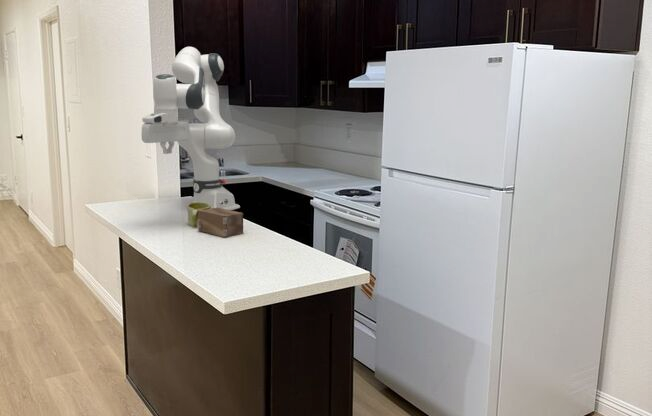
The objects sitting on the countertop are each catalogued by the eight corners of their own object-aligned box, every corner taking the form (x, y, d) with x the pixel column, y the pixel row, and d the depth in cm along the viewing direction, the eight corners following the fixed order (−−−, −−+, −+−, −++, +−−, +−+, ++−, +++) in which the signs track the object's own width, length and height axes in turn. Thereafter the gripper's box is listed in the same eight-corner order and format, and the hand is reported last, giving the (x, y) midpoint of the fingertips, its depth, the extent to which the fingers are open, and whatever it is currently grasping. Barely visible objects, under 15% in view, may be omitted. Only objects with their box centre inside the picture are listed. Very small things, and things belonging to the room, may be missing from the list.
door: (201, 229, 228) (200, 209, 227) (227, 236, 219) (227, 215, 217) (195, 231, 227) (195, 210, 225) (222, 237, 217) (222, 216, 215)
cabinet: (218, 227, 235) (217, 207, 233) (243, 233, 225) (243, 212, 224) (202, 230, 229) (201, 210, 227) (227, 237, 219) (226, 216, 218)
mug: (190, 215, 246) (195, 195, 241) (213, 224, 244) (217, 204, 240) (176, 227, 235) (180, 206, 230) (199, 236, 234) (204, 215, 229)
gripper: (183, 116, 236) (185, 151, 239) (138, 117, 221) (140, 154, 224) (193, 117, 232) (194, 152, 235) (147, 118, 217) (149, 156, 220)
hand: (167, 153), depth 229 cm, fingers closed
